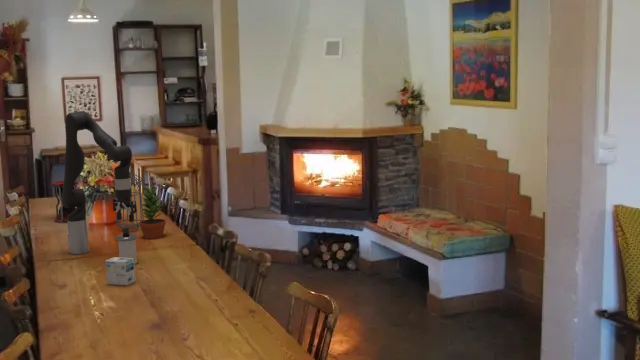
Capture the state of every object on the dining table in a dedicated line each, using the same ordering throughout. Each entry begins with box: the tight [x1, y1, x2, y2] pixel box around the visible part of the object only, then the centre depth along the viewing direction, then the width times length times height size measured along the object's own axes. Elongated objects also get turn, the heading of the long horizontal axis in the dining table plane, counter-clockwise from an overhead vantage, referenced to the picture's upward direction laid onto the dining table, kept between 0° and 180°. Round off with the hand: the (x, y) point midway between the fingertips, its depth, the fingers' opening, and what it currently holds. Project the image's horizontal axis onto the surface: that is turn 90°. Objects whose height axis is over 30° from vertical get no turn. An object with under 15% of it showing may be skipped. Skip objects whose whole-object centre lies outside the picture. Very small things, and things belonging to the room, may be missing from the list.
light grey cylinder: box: [117, 239, 138, 265], centre depth 345 cm, size 8×8×12 cm
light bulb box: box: [104, 256, 137, 286], centre depth 312 cm, size 11×7×11 cm, turn 71°
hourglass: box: [51, 179, 79, 224], centre depth 454 cm, size 16×16×25 cm
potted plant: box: [138, 186, 167, 240], centre depth 398 cm, size 15×15×30 cm
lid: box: [115, 227, 138, 242], centre depth 344 cm, size 10×10×5 cm
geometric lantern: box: [111, 171, 146, 233], centre depth 418 cm, size 16×16×35 cm
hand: (125, 220), depth 343 cm, fingers open, 8 cm apart
